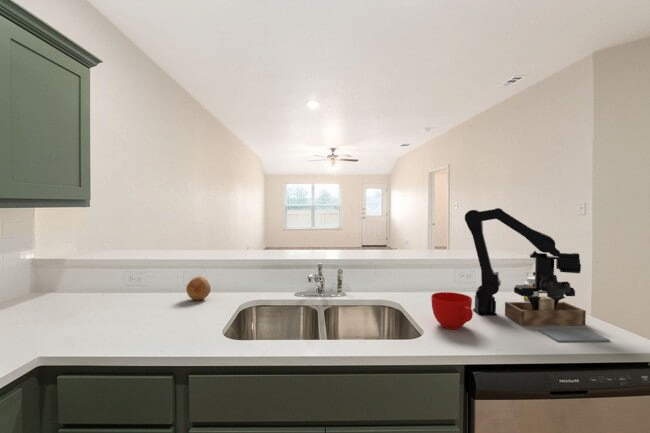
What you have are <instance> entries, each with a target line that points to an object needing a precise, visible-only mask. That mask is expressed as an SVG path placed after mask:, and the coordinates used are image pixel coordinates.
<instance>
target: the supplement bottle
mask: <svg viewBox="0 0 650 433" xmlns="http://www.w3.org/2000/svg"><path fill="white" fill-rule="evenodd" d="M533 283H535V276H534V277H533V276H532V277H531V276H528V277H527V276H526V280H525V281H524V284H523V285H526V286H529V287H531V288H535V287H533ZM538 296H540V293H538ZM523 302H530V301H529V299H528V298H527V296H523Z"/></svg>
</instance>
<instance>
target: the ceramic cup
mask: <svg viewBox="0 0 650 433" xmlns="http://www.w3.org/2000/svg"><path fill="white" fill-rule="evenodd" d="M472 302H473V298H472V297H471V296H470V295H466V294H464V293H458V292H450V291H449V292H448V291H444V292H443V291H442V292H434V293H433V294H431V309H432V312H433V315H434V318H435V320H436V321H437V322H438V324H440V326H441V328H444V329H446V330H447V329H448V330H460V329H461V328H462V327H463V326H464V325H465V324H466V323H467V322H470V321H471V320H472V318H473V309H472V304H473V303H472Z"/></svg>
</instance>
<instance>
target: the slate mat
mask: <svg viewBox="0 0 650 433" xmlns="http://www.w3.org/2000/svg"><path fill="white" fill-rule="evenodd" d="M537 331H538V332H540V333H542V334H543V335H544V336H547V337H549V338H551V340H553V341H555V342H557V343H585V342H586V343H588V342H589V343H591V342H592V343H593V342H594V343H595V342H596V343H597V342H598V343H603V342H604V343H606V342H607V343H608V342H611V340H610V339H609V338H607V337H605V336H603V335H601V334H598V332H597V333H596V332H595V331H593V330H591V329H588V328H586V327H585V328H537Z"/></svg>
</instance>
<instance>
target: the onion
mask: <svg viewBox="0 0 650 433" xmlns="http://www.w3.org/2000/svg"><path fill="white" fill-rule="evenodd" d="M185 289H186V294H187V296H188V297H189V299H192V300H194V301H197V302H198V301H202V300H203V299H206V298H207V297H208V296H209V294H210V293H211V285H210V282H209V281H208V279H206V278H204V277H203V276H201V275H199V276H195V277H194V278H192V279H191V280H190V281H189V282H188V283H187V286H186V288H185Z"/></svg>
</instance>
